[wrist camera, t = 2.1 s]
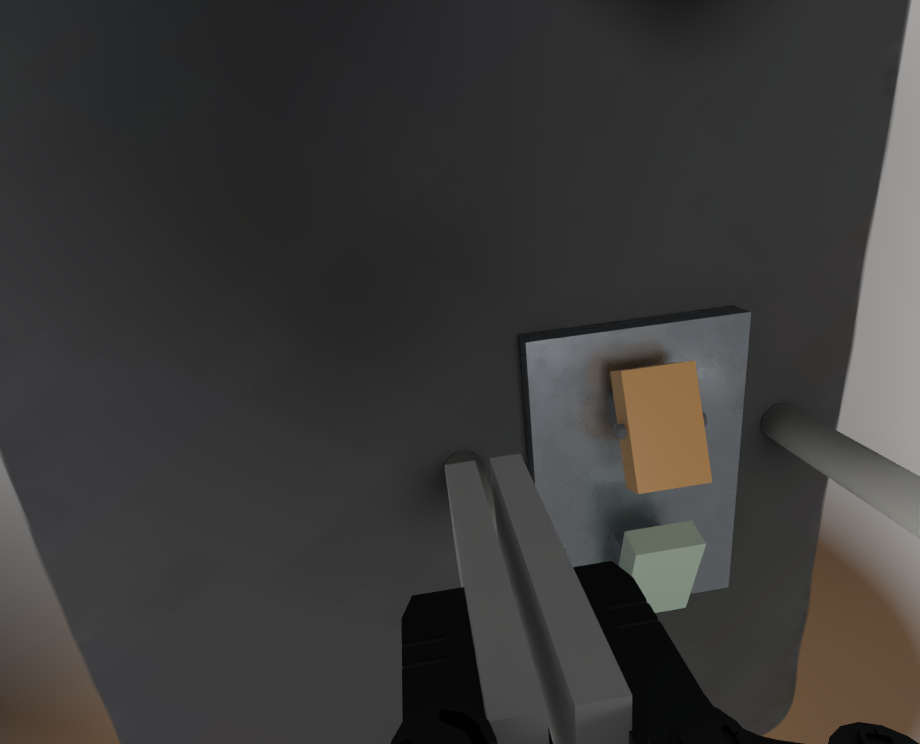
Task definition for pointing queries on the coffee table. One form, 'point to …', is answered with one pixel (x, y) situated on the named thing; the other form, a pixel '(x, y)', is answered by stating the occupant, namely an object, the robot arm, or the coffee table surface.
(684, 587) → the rocker on
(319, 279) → the coffee table surface
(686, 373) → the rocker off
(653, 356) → the panel
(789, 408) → the cord post right
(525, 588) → the robot arm
